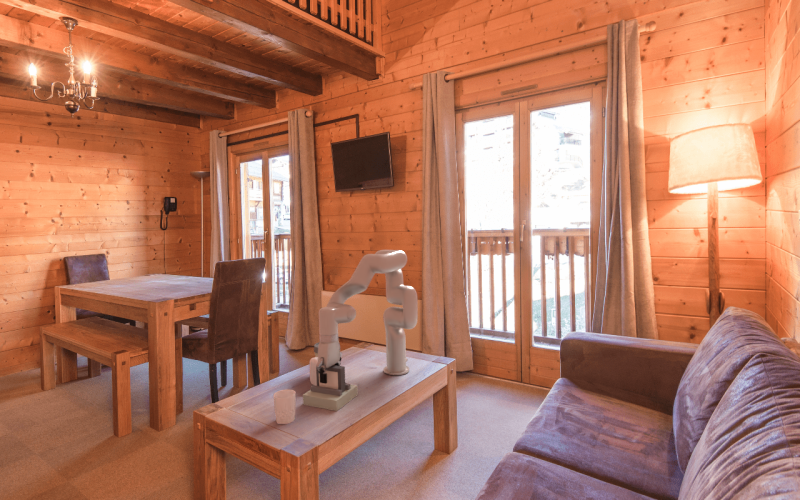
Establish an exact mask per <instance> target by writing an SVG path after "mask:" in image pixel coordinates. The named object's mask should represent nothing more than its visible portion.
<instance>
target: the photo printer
mask: <svg viewBox="0 0 800 500" xmlns="http://www.w3.org/2000/svg"><path fill="white" fill-rule="evenodd" d="M317 363H318V357H315V356H314V357H312V358H310V359H309V379H310V383H311V385H315V386H317V377H316V365H317Z"/></svg>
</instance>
